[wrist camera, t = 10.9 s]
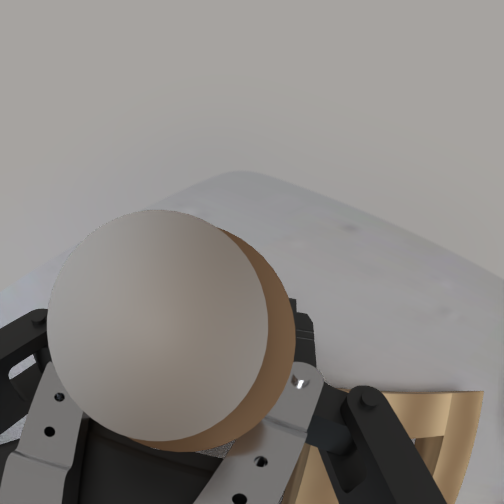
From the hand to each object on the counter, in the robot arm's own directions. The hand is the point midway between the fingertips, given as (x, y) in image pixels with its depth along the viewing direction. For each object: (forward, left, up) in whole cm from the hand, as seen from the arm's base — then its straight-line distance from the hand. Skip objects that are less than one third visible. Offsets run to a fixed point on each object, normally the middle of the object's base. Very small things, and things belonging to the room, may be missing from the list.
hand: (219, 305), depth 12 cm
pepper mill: (0, -2, -7) cm, 7 cm away
